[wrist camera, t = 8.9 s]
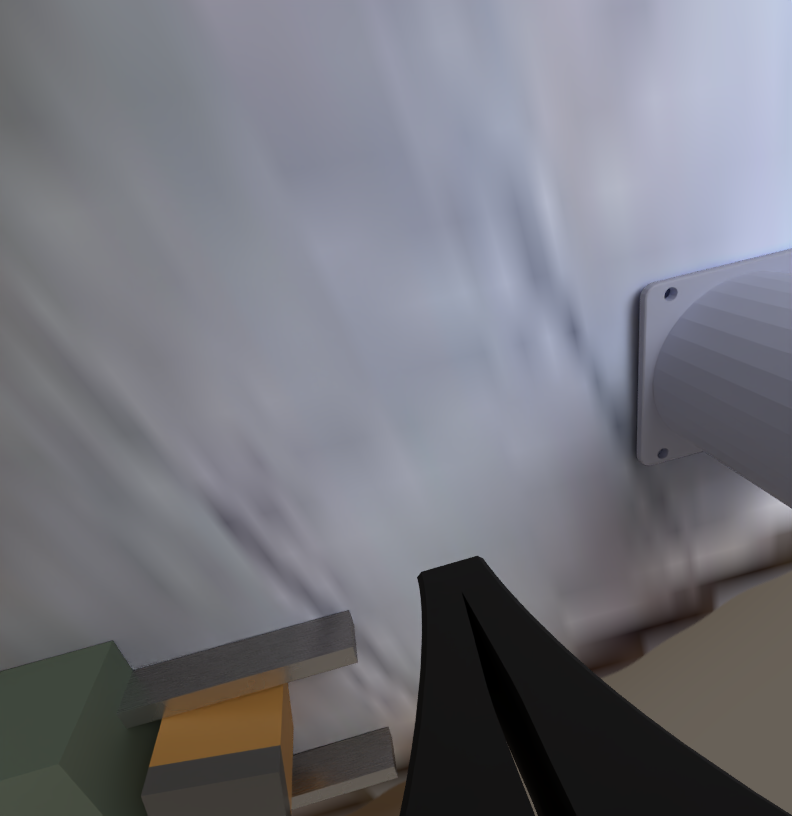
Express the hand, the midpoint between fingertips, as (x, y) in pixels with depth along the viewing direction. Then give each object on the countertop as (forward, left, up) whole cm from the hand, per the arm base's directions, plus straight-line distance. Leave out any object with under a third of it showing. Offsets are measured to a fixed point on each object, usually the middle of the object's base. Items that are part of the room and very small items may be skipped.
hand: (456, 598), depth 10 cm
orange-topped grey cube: (+11, +13, -10) cm, 19 cm away
